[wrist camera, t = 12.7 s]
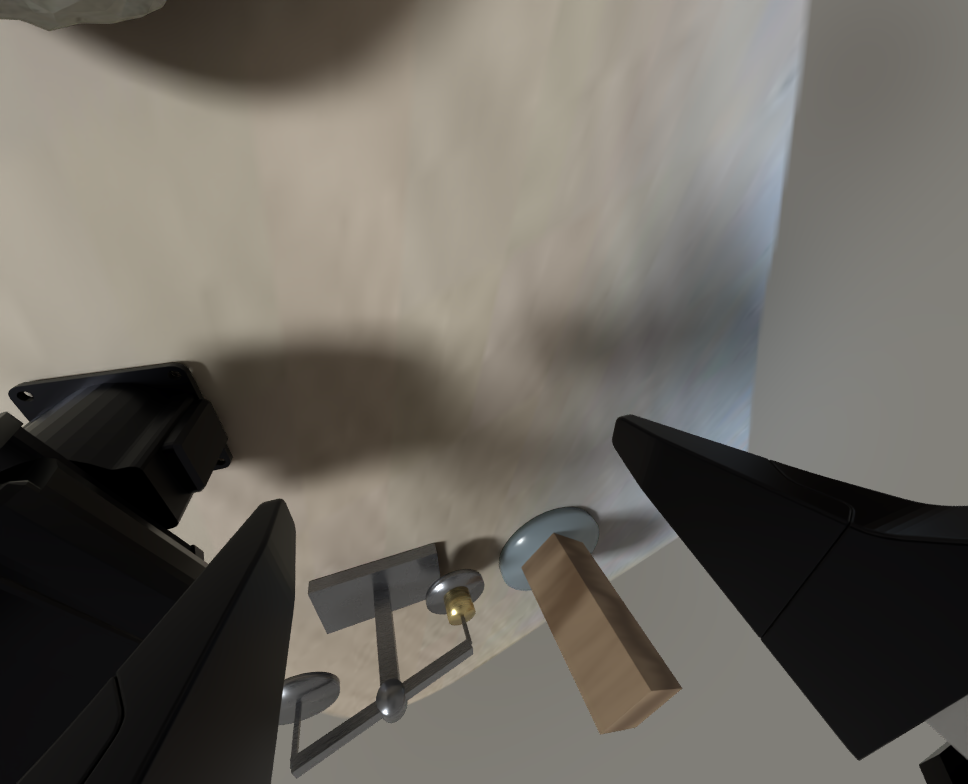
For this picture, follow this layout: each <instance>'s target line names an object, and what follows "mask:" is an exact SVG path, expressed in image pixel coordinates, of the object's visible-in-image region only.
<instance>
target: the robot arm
mask: <svg viewBox="0 0 968 784" xmlns="http://www.w3.org/2000/svg"><path fill="white" fill-rule="evenodd" d="M171 371H177V372H179V373H180V374H181V376H180V377H178V376H174V375H173V374H172V373H171ZM24 392H28V393H31V394H32V395H33V397H30V396H27V395H26V394H25V393H24ZM8 395H9V397H10V399H11V400H12V401H13V403H14V404H15V405H16V406H17V407H18V409H19V410H20V411H21V412H22V413H23V415H24V416H25V417H26V418H27V419H28V421H29V423H28V424H26V425H25V426H24V427H21V426H22V425H23V423H22V422H21V421H19V420H18V419H16V418H15V417H14V416H12V415H11V414H9V413H8V412H3V413H0V784H271V777H272V770H273V762H274V754H275V747H276V740H277V732H278V724H279V717H280V709H281V702H282V694H283V686H284V679H285V671H286V664H287V656H288V648H289V641H290V633H291V626H292V618H293V610H294V601H295V554H296V530H295V524H294V521H293V519H292V516H291V514H290V512H289V509H288V507H287V505H286V503H285V501H284V500H283V499H275V500H271V501H267V502H264V503H262V504H260V505H259V506H258V508H257V509H256V510H255V511H254V512H253V513H252V515H251V516H250V517H249V518H248V519H247V520H246V522H245V523H244V524H243V525H242V526H241V527H240V528H239V530H238V531H237V532H236V533H235V534H234V535H233V537H232V538H231V539H230V540H229V541H228V542H227V544H226V545H225V546H224V547H223V548H222V549H221V551H220V552H219V553H218V554H217V555H216V556H215V557H214V559H213V560H212V561H211V562H210V563H209V564H207V563H206V562H205V561H204V552H203V551H202V550H201V549H199V548H198V547H197V546H195V545H191V546H190V545H189V544H187V543H186V542H185V541H183V540H182V539H180V538H179V537H177V536H176V535H175V534H173V533H172V532H170V531H169V530H167V529H171V528H174V527H176V526H177V525H178V524H179V522H180V520H181V518H182V516H183V514H184V512H185V510H186V507H187V505H188V503H189V501H190V499H191V497H192V495H193V493H196V492H201V491H202V490H203V489H204V487H205V486H206V484H207V482H208V480H209V478H210V476H211V474H212V472H213V471H214V470H218V469H223V468H226V467H228V466H229V465H230V463H231V461H232V454H231V452H230V450H229V448H228V446H227V444H226V442H227V440H228V437H227V435H226V433H225V431H224V429H223V427H222V425H221V423H220V421H219V419H218V417H217V415H216V413H215V411H214V409H213V407H212V405H211V402H209V401H208V400H206V399H204V398H203V396H202V394H201V392H200V390H199V388H198V386H197V384H196V382H195V380H194V378H193V376H192V374H191V372H190V370H189V369H188V368H187V367H186V366H185V365H183V364H180V363H167V364H160V365H152V366H145V367H137V368H129V369H122V370H114V371H107V372H99V373H92V374H84V375H77V376H69V377H62V378H54V379H47V380H39V381H31V382H24V383H21V384H18V385H17V386H15V387H13V388H12V389H11V390H9V393H8ZM612 443H613V446H614V448H615V449H616V451H617V453H618V454H619V456H620V457H621V459H622V460H623V462H624V463H625V465H626V466H627V468H628V469H629V471H630V473H631V474H632V476H633V477H634V479H635V480H636V482H637V483H638V485H639V486H640V488H641V489H642V490H643V492H644V493H645V494H646V496H647V497H648V498H649V499H650V501H651V502H652V503H653V504H654V506H655V507H656V508H657V509H658V511H659V512H660V513H661V514H662V516H663V517H664V518H665V520H666V521H667V522H668V523H669V525H670V526H671V527H672V528H673V530H674V531H675V532H676V533H677V535H678V536H679V537H680V538H681V540H682V541H683V542H684V543H685V545H686V546H687V547H688V548H689V550H690V551H691V552H692V553H693V555H694V556H695V557H696V559H697V560H698V561H699V562H700V564H701V565H702V566H703V567H704V569H705V570H706V571H707V572H708V573H709V575H710V576H711V577H712V579H713V580H714V581H715V582H716V584H717V585H718V586H719V587H720V589H721V590H722V591H723V592H724V594H725V595H726V596H727V598H728V599H729V600H730V601H731V602H732V604H733V605H734V606H735V607H736V609H737V610H738V611H739V613H740V614H741V615H742V616H743V618H744V619H745V620H746V621H747V623H748V624H749V625H750V626H751V628H752V629H753V630H754V632H755V633H756V634H757V635H758V637H760V638H761V640H762V642H763V643H764V644H765V645H766V647H767V648H768V649H769V651H770V652H771V653H772V655H773V656H774V657H775V658H776V660H777V661H778V662H779V663H780V664H781V666H782V667H783V668H784V669H785V671H786V672H787V673H788V675H789V676H790V677H791V678H792V680H793V681H794V682H795V683H796V685H797V686H798V687H799V688H800V690H801V691H802V692H803V693H804V695H805V696H806V697H807V699H808V700H809V701H810V702H811V704H812V705H813V706H814V707H815V709H816V710H817V711H818V712H819V714H820V715H821V716H822V718H823V719H824V720H825V721H826V723H827V724H828V725H829V726H830V728H831V729H832V730H833V731H834V733H835V734H836V735H837V736H838V738H839V739H840V740H841V741H842V743H843V744H844V745H845V746H846V748H847V749H848V750H849V751H850V752H851V753H852V754H853V755H854V756H855V758H857V760H859V761H860V760H862V759H863V758H865V757H866V756H868V755H870V754H871V753H873V752H875V751H876V750H878V749H880V748H881V747H883V746H885V745H886V744H888V743H890V742H891V741H893V740H895V739H896V738H898V737H899V736H901V735H902V734H904V733H906V732H908V731H909V730H911V729H912V728H914V727H916V726H917V725H919V724H921V723H923V722H924V721H925V722H926V723H927V724H929V725H930V726H931V727H932V728H933V729H934V730H935V731H936V732H937V733H939V735H941V736H942V737H943V738H944V739H945V740H946V741H947V742H946V743H945V744H944V745H943V746H941V747H940V748H939V749H937V750H936V751H935V752H934V753H933V754H931V755H930V756H929V757H928V758H926V759H925V760H924V761H923V762H921V763H920V764H919V766H920V769H921V771H922V773H923V775H924V778H925V780H926V783H927V784H968V506H941V505H932V504H925V503H920V502H915V501H911V500H907V499H902V498H899V497H896V496H892V495H888V494H885V493H881V492H878V491H874V490H871V489H867V488H863V487H860V486H856V485H853V484H849V483H846V482H842V481H838V480H835V479H831V478H828V477H824V476H821V475H817V474H814V473H811V472H808V471H804V470H801V469H798V468H795V467H791V466H788V465H785V464H782V463H779V462H776V461H773V460H768V459H766V458H764V457H761V456H758V455H754V454H751V453H748V452H745V451H742V450H739V449H736V448H733V447H730V446H727V445H724V444H721V443H718V442H714V441H711V440H708V439H705V438H702V437H699V436H696V435H693V434H690V433H687V432H684V431H681V430H678V429H674V428H671V427H668V426H665V425H662V424H659V423H656V422H653V421H650V420H647V419H644V418H641V417H638V416H635V415H625V416H621V417H619V418H617V420H616V423H615V428H614V432H613V437H612ZM219 458H222V459H224V460H225V461H220V460H218V459H219Z"/></svg>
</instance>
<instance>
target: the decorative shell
mask: <svg viewBox="0 0 968 784" xmlns="http://www.w3.org/2000/svg"><path fill="white" fill-rule="evenodd" d="M166 1H167V0H0V19H9V20H21V21H24V22H28V23H30V24H33V25H35V26H38V27H40V28H43V29H45V30H47V31H52V30H56V29H60V28H64V27H68V26H72V25H76V24H113V23H117V22H121V21H125V20H130V19H136V18H141V17H144V16H145V15H147V14H149V13H151V12H153V11H156V10H158V9H160V8H162V7H163V6H164V4H165V2H166Z"/></svg>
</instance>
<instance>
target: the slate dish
mask: <svg viewBox="0 0 968 784" xmlns="http://www.w3.org/2000/svg"><path fill="white" fill-rule="evenodd" d="M553 533H556V534H559V535H562V536H565V537H568V538H571V539H574V540H577V541H579V542H582V543H583V544H584V545H585V547H586V548H587V550H588V551H589V552H590V554H591V553H592V552H593V550H594V548H595V546H596V544H597V542H598V538H599V528H598V525H597V523H596V522H595V521H594V519H593V518H592V517H591V515H590V514H589V513H588V512H586V511H585V510H583V509H580V508H575V507H564V508H558V509H555V510H551V511H548V512H546V513H543V514H541V515H539V516H537V517H535V518H534V519H532V520H530V521H529V522H527V523H526V524H525V525H523V526H522V527H521V528H520V529H519V530H517V531H516V532H515V533H514V534H513V535H512V537H511V538H510V539H509V540H508V542H507V543H506V544H505V546H504V548H503V550H502V552H501V554H500V558H499V568H500V571H501V574H502V576H503V579H504V581H505V582H506V584H507V585H508V586H510V587H511V588H514V589H516V590H524V591H527V590H532V589H531V587H530V585H529V583H528V581H527V579H526V577H525V575H524V573H523V570H522V568H521V567H522V566H523V565H524V564H525V562H526V561H527V560H528V559H529V558H530V557H531V556H532V555H533V554H534V553H535V552H536V551H537V550H538V549H539V548H540V546H541V545H542V544H543V543H544V542H545V541H546V540H547V539H548V538H549V537H550V536H551V535H552V534H553Z"/></svg>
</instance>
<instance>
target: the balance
mask: <svg viewBox="0 0 968 784" xmlns="http://www.w3.org/2000/svg"><path fill="white" fill-rule="evenodd" d="M483 590H484V581H483V578H482V576H481V574H480V573H479V572H477V571H475V570H471V569H463V570H457V571H454V572H451V573H448V574H446V575H444V576H442V577H441V578H440V571H439V564H438V556H437V551H436V547H435V543H433V544H430V545H426V546H423V547H420V548H417V549H414V550H410V551H407V552H404V553H401V554H397V555H394V556H391V557H388V558H384V559H381V560H378V561H375V562H371V563H368V564H365V565H362V566H358V567H355V568H352V569H349V570H346V571H342V572H339V573H336V574H333V575H329V576H326V577H323V578H320V579H316V580H313V581H310V582H309V587H308V595H309V597H310V599H311V601H312V604H313V606H314V608H315V610H316V612H317V614H318V616H319V618H320V620H321V622H322V624H323V626H324V628H325V630H326V632H327V634H329V633H332V632H335V631H338V630H340V629H343V628H346V627H349V626H352V625H355V624H357V623H360V622H363V621H366V620H369V619H372V618H374V617H375V621H376V634H377V648H378V661H379V674H380V688H379V690H378V693H377V696H376V701H375V702H373V703H372V704H370V705H369V706H367V707H366V708H364V709H363V710H362V711H360V712H359V713H357V714H356V715H354V716H353V717H351V718H350V719H348V720H347V721H345V722H344V723H342V724H341V725H339V726H338V727H336V728H335V729H333V730H332V731H330V732H329V733H328V734H326V735H325V736H323V737H322V738H320V739H319V740H317V741H316V742H314V743H313V744H311V745H310V746H308V747H307V748H306V749H304V750H302V751H301V752H299V753H298V749H299V735H300V723H301V720H305V719H307V718H310V717H312V716H314V715H316V714H318V713H320V712H322V711H324V710H325V709H327V708H328V707H329V706H330V705H332V704H333V703H334V702H335V700H336V699H337V698H338V696H339V693H340V681H339V678H338V677H337V676H336V675H334V674H331V673H327V672H310V673H304V674H300V675H296V676H293V677H290V678H287V679H285V680H284V686H283V694H282V702H281V709H280V717H279V724H278V725H285V724H290V723H294V730H293V740H292V752H291V759H290V769H291V773H292V774H293V775H294V776H295V777H296V778H298V777H300V776H301V775H302V774H304V773H305V772H307V771H308V770H310V769H311V768H312V767H314V766H315V765H317V764H318V763H319V762H321V761H322V760H324V759H325V758H327V757H328V756H329V755H331V754H332V753H334V752H335V751H336V750H338V749H339V748H341V747H342V746H343V745H345V744H346V743H348V742H349V741H351V740H352V739H353V738H355V737H356V736H357V735H359V734H361V733H362V732H363V731H365V730H366V729H367V728H369V727H371V726H372V725H373V724H375V723H376V722H378V721H379V720H380V719H382V718H383V719H384V720H385V721H386V722H388V723H393V722H396V721H398V720H399V719H400V718H401V717H402V716H403V715H404V713H405V711H406V708H407V700H409V699H410V698H412V697H413V696H414V695H416V694H417V693H419V692H420V691H422V690H423V689H424V688H426V687H427V686H429V685H430V684H432V683H433V682H434V681H436V680H437V679H439V678H440V677H441V676H443V675H444V674H446V673H447V672H449V671H450V670H451V669H453V668H454V667H456V666H457V665H458V664H460V663H461V662H463V661H464V660H466V659H467V658H468V657H470V656H471V655H473V647H472V645H471V644H472V641H471V638H470V634H469V631H468V627H467V624H466V622H468V621H469V620H470V619H472V618H473V616H474V615H475V608H474V605H473V602H475V601H476V600H477V599H478V598H479V596H480V595H481V594H482V592H483ZM425 599H426V605H427V608H428V609H429V610H430V611H431V612H432V613H435V614H447V616H448V620H449V623H450V624H451V625H461V624H462V625H463V629H464V633H465V636H466V640H465V641H463V642H462V643H460V644H459V645H458V646H456V647H455V648H453V649H452V650H450V651H449V652H447V653H446V654H444V655H443V656H441V657H440V658H438V659H437V660H435V661H434V662H432V663H431V664H429V665H428V666H427V667H425V668H424V669H422V670H421V671H419V672H418V673H416V674H415V675H413V676H412V677H410V678H409V679H407V680H406V681H404V682H403V683H401V681H400V674H399V666H398V657H397V649H396V640H395V631H394V623H393V614H392V611H394V610H397V609H400V608H403V607H406V606H408V605H411V604H414V603H417V602H420V601H423V600H425Z"/></svg>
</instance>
